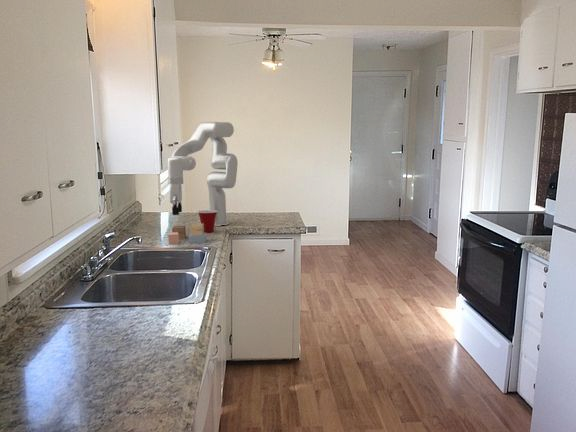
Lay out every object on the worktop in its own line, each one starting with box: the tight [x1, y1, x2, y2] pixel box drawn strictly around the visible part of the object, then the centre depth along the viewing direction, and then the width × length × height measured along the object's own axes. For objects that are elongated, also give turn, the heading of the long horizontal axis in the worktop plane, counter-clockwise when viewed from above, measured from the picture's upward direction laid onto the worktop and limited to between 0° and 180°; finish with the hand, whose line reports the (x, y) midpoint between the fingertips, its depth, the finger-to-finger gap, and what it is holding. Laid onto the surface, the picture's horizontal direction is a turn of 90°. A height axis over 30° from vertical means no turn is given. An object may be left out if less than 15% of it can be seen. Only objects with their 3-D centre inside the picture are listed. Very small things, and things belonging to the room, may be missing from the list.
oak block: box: [189, 223, 204, 236], centre depth 255 cm, size 6×6×5 cm
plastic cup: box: [197, 209, 217, 234], centre depth 278 cm, size 11×11×12 cm
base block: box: [188, 233, 208, 244], centre depth 256 cm, size 8×8×4 cm
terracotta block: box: [167, 232, 180, 245], centre depth 253 cm, size 5×5×5 cm
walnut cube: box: [171, 225, 187, 240], centre depth 265 cm, size 6×6×6 cm
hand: (177, 213), depth 263 cm, fingers open, 9 cm apart
